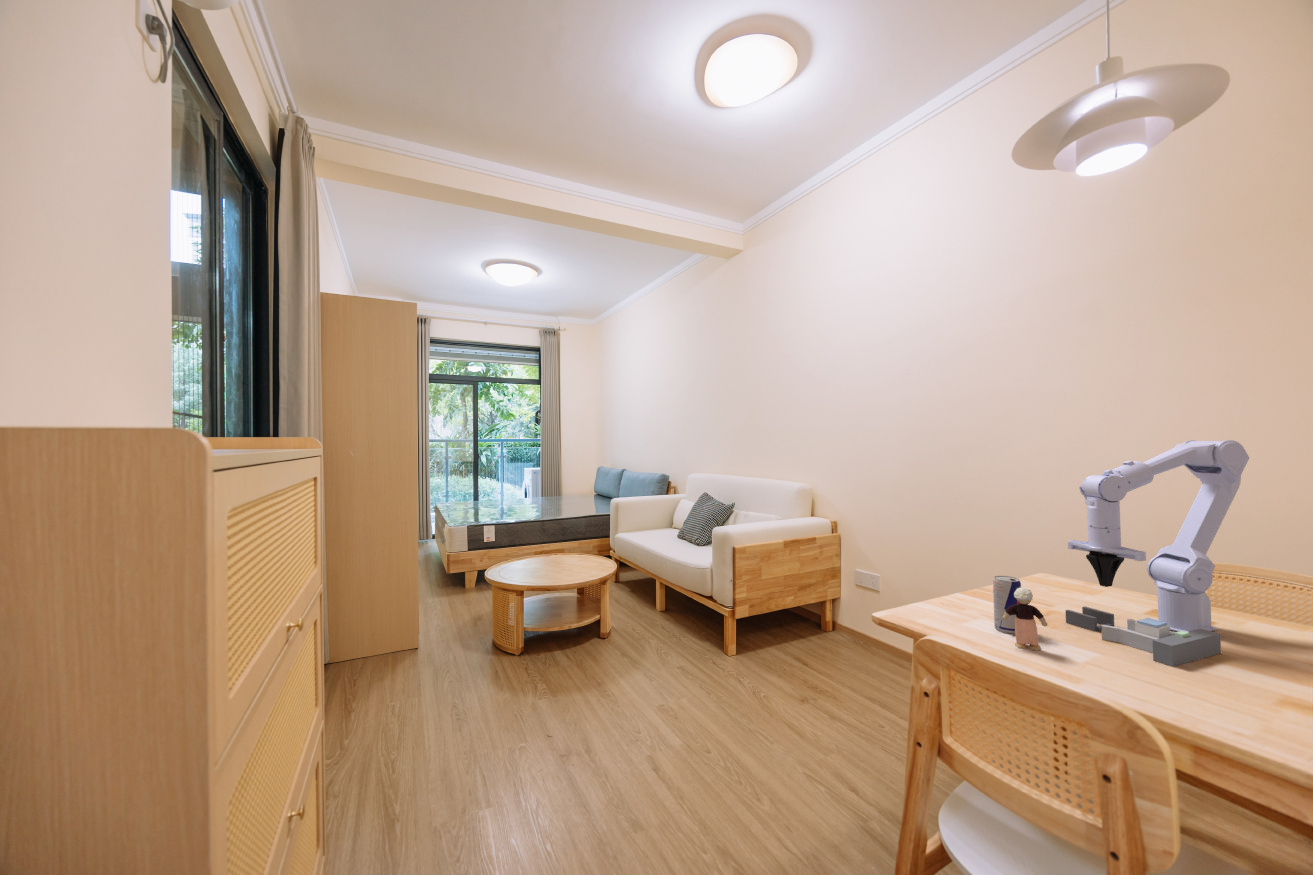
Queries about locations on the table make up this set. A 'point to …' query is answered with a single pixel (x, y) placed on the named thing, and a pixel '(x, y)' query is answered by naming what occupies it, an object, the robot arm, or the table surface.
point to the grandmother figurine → (1025, 619)
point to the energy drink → (1004, 602)
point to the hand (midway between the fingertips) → (1105, 585)
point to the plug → (1152, 628)
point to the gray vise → (1090, 618)
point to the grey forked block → (1167, 643)
